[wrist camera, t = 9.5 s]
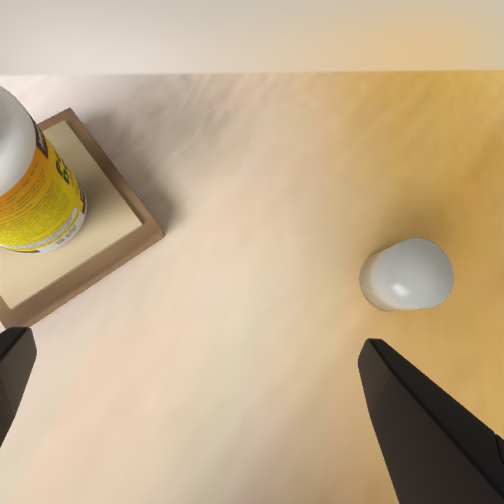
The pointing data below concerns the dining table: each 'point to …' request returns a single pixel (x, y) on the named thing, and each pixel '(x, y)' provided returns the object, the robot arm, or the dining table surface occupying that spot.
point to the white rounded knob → (407, 276)
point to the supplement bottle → (34, 186)
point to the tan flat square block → (85, 240)
